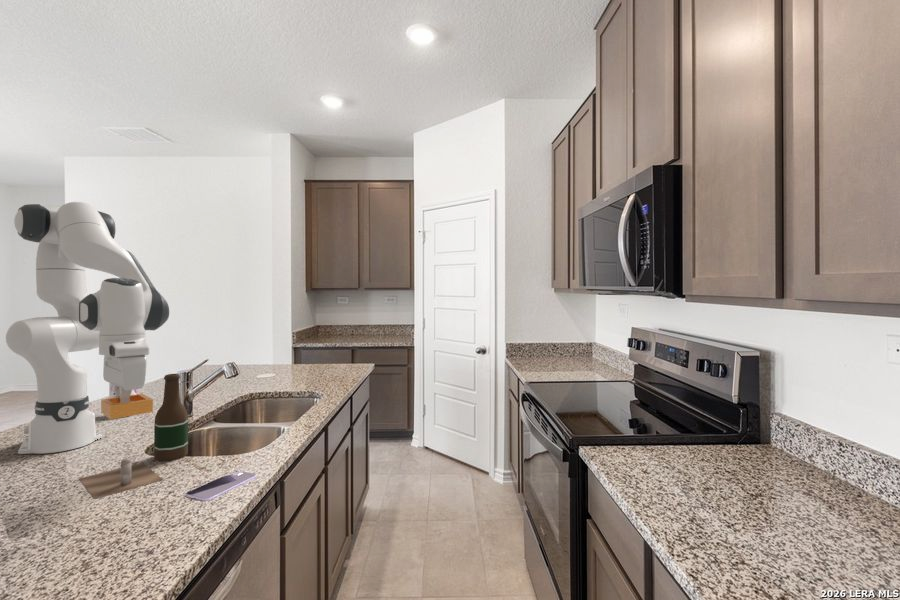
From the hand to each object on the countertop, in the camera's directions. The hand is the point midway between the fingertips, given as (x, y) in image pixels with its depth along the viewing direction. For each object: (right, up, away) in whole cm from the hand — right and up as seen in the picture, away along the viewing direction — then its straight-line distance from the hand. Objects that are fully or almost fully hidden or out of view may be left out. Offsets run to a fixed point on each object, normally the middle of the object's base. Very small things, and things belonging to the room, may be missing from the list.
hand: (122, 403), depth 102 cm
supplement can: (-46, -19, +60) cm, 78 cm away
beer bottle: (+1, -20, +16) cm, 25 cm away
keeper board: (-1, -20, 0) cm, 20 cm away
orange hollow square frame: (+3, -1, -2) cm, 4 cm away
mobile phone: (+23, -20, +1) cm, 31 cm away
